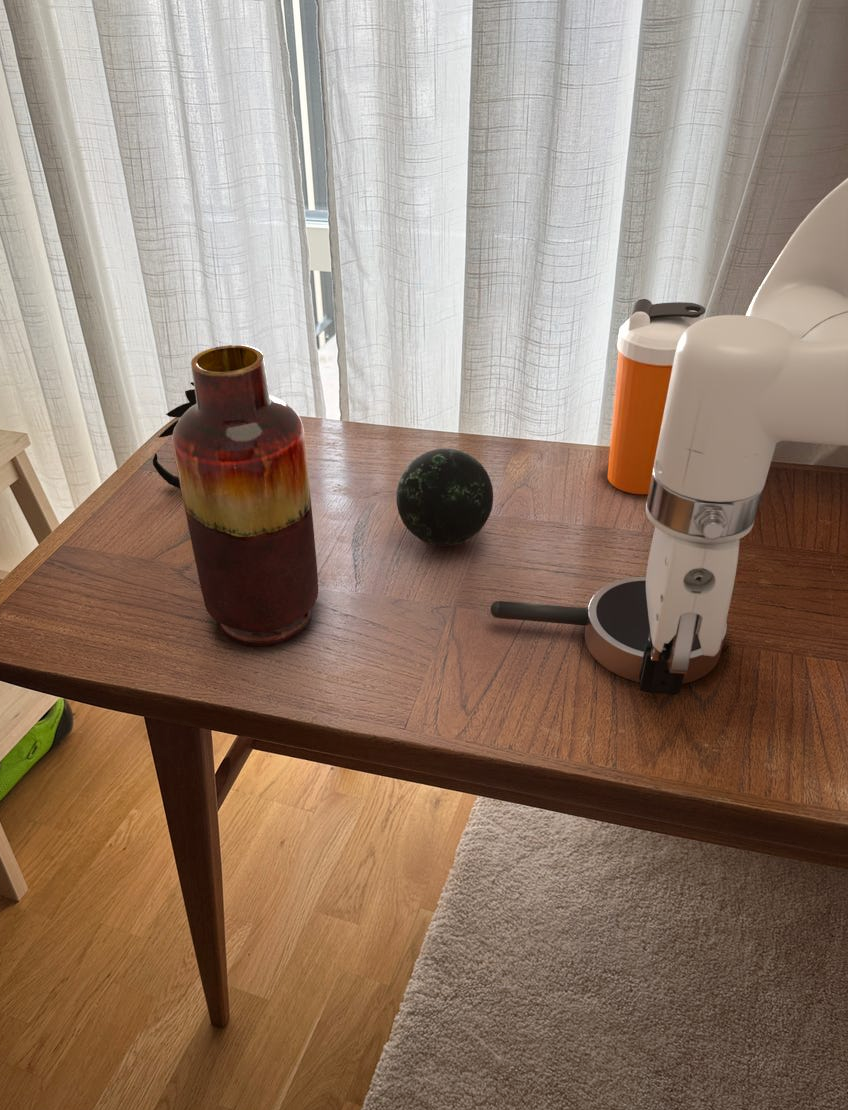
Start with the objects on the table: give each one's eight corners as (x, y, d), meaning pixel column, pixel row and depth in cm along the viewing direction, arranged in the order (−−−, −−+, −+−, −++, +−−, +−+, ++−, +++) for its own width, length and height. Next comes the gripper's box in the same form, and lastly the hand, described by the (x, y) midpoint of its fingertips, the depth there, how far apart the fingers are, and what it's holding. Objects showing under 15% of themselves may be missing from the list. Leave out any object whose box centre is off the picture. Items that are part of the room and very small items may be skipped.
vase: (248, 572, 95) (210, 324, 78) (341, 599, 91) (322, 343, 74) (185, 634, 88) (127, 374, 71) (283, 667, 83) (247, 398, 67)
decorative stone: (399, 566, 95) (396, 481, 88) (395, 515, 102) (393, 433, 96) (496, 563, 94) (501, 477, 88) (485, 511, 102) (489, 429, 96)
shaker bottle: (682, 501, 102) (718, 323, 89) (600, 497, 103) (624, 322, 90) (674, 462, 109) (707, 291, 96) (597, 459, 110) (620, 290, 97)
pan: (713, 607, 87) (720, 581, 85) (726, 692, 78) (734, 665, 76) (494, 589, 91) (496, 564, 89) (483, 669, 82) (484, 642, 80)
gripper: (776, 561, 59) (715, 756, 71) (741, 450, 71) (694, 634, 82) (656, 553, 60) (616, 747, 72) (641, 446, 72) (609, 628, 83)
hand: (658, 686), depth 77 cm, fingers closed
